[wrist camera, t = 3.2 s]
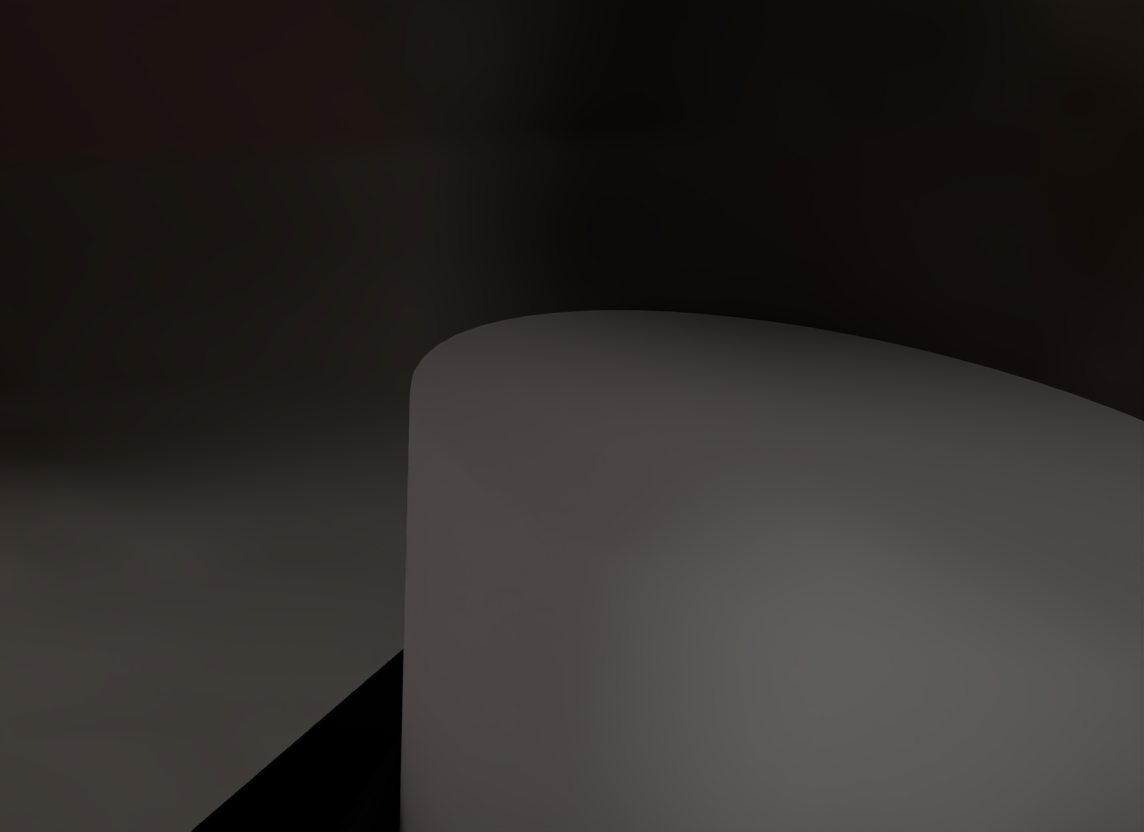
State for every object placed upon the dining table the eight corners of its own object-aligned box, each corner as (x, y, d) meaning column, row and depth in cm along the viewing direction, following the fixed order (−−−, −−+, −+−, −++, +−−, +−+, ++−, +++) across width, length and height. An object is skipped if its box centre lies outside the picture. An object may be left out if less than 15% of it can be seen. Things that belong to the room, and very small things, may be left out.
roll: (816, 878, 11) (1030, 1591, 6) (450, 837, 11) (302, 1511, 6) (991, 345, 8) (1862, 764, 3) (484, 289, 8) (221, 581, 3)
